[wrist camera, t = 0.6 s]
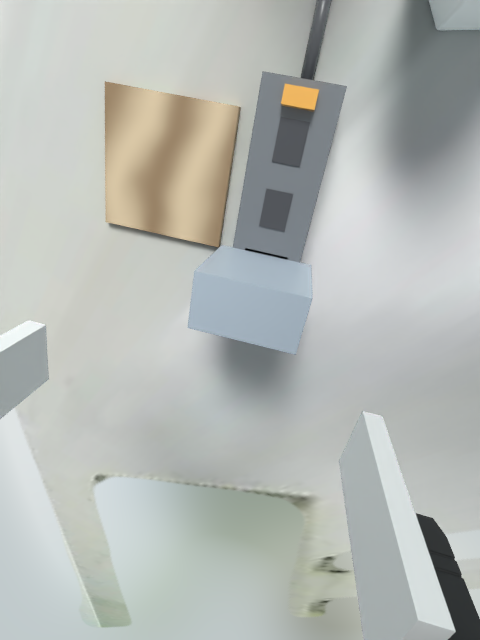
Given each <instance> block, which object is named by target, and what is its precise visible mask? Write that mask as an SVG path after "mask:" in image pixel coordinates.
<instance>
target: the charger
mask: <svg viewBox="0 0 480 640" xmlns="http://www.w3.org/2000/svg"><path fill="white" fill-rule="evenodd" d="M311 302H312V271H311V265H309V264H304V263H300V262H295V261H291V260H286V259H283V256H279V255H274V254H270V253H266V252H261V251H257V250H251V251H246V250H242V249H237V248H233V247H229V246H224V245H221V246H220V247H219V248H218V249H217V250H216V251H215V252H214V253H213V254H212V255H211V256H210V257H209V258H208V259H206V260H205V261H204V262H203V263H202V264H201V265H200V266H199V267H198V268H197V269H196V270H195V271H194V279H193V287H192V295H191V304H190V312H189V320H188V328H190V329H194V330H198V331H202V332H206V333H210V334H214V335H218V336H222V337H226V338H230V339H234V340H238V341H242V342H246V343H250V344H254V345H258V346H262V347H266V348H270V349H274V350H278V351H282V352H286V353H290V354H294V355H296V352H297V348H298V345H299V342H300V338H301V335H302V332H303V328H304V325H305V322H306V318H307V315H308V312H309V308H310V305H311Z"/></svg>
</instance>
